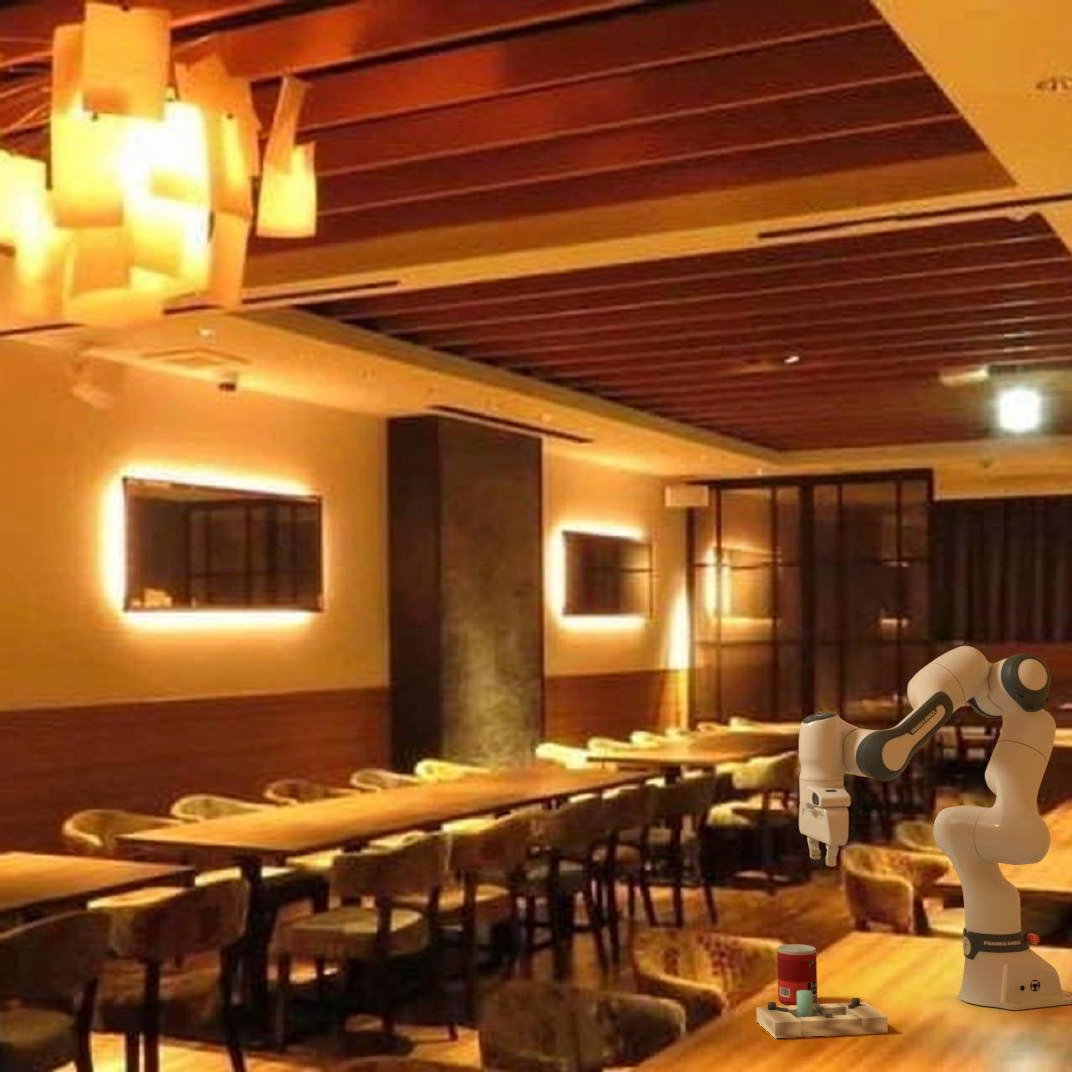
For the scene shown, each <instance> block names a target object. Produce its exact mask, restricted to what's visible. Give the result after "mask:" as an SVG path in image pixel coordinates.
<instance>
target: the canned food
mask: <svg viewBox="0 0 1072 1072" xmlns="http://www.w3.org/2000/svg"><path fill="white" fill-rule="evenodd" d="M776 949H777V951H776V954H777V955H776V958H777V959H776V960H777V962H776V963H777V964H776V965H777V966H776V967H777V968H776V969H777V970H776V971H777V998H778V1001H780V1002H781V1003H780V1002H779V1003H780V1004H782V1003H783V1004H782V1005H785V1004H786V1005H785V1006H789V1005H797V991H799V990H809V991H812V994H816V995H817V996H818V977H817V976H818V972H817V971H818V970H817V968H818V967H817V965H818V964H817V962H818V961H817V948H816V947H815V946H812V945H809V944H808V945H807V944H801V943H800V944H799V943H796V944H795V943H794V944H793V943H791V944H782V945H779V946H777V947H776Z"/></svg>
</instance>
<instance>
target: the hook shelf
mask: <svg viewBox="0 0 1072 1072" xmlns="http://www.w3.org/2000/svg"><path fill="white" fill-rule="evenodd" d="M812 996H813V1017H797V1005H793V1006H789V1005H779V1006H778V1005H777V1002H775V1001H769V1002H767V1006H758V1007H756V1023H757V1022H758V1023H759V1024H760V1025H759V1024H758V1025H759V1027H761V1026H762V1027H763V1028H764V1029H765V1030H766V1032H767V1031H768V1032H769V1033H770V1034H771V1035H770V1034H769V1033H768V1032H767V1033H768V1034H769V1035H770V1036H771V1037H772V1036H773V1037H774V1038H773V1037H772V1038H773V1039H774V1040H778V1039H777V1038H787V1039H797V1038H796V1037H806V1038H813V1037H812V1036H825V1037H838V1036H839V1037H842V1036H859V1035H878V1034H879V1035H880V1034H888V1032H889V1031H888V1028H889V1027H888V1025H889V1024H888V1016H887V1015H885V1014H884V1013H882V1012H880V1011H879V1010H877V1009H876V1008H875V1007H873V1006H872V1005H870V1004H868V1003H867V1002H865V1001H861V998H860V997H852V998H851V1002H838V1003H837V1002H836V1003H818V994H817V995H816V994H812ZM762 1027H761V1028H762ZM763 1028H762V1029H763ZM764 1029H763V1030H764ZM765 1030H764V1031H765ZM810 1036H811V1037H810Z"/></svg>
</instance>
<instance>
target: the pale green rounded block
mask: <svg viewBox="0 0 1072 1072" xmlns="http://www.w3.org/2000/svg"><path fill="white" fill-rule="evenodd" d="M797 1017H813V996H812V991H809V990H799V991H797Z"/></svg>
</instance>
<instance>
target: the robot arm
mask: <svg viewBox="0 0 1072 1072" xmlns="http://www.w3.org/2000/svg"><path fill="white" fill-rule="evenodd" d="M906 690H907V691H906V693H907V694H906V695H907V699H908V701H909V704H910V707H911V708H912V709H913V710H912V711H911V712H910V713H908V715H906V717H905V718H903V719H902V720H901V721H899V723H898V724H897V725H896V726H894V727H892V728H887V729H878V730H877V729H869V728H867V729H866V728H859V726H855V725H853V724H851V723H849V722H847V721H845V720H843V719H842V718H841V717H840V716H839V715H838V713H837V712H820V713H815V714H810V715H808V716H806V717H804V718H803V719H802V721H801V724H800V728H799V734H798V735H799V736H798V759H799V762H800V774H799V776H798V777H799V787H798V788H799V806H798V807H799V809H798V828H799V832H800V834H802V835H804V836H806V837H807V838H806V839H807V844H808V849H809V857H810V859H812V860H820V859H821V858H822V857H821V855H822V854H821V850H820V846H819V845H820V844H819V842H821V843H823V844H825V849H826V855H825V857H824V860H825V861H824V862H825V865H826V866H828V867H836V866H837V858H838V857H837V856H838V852H839V846H846V845H847V843H848V839H849V827H850V826H849V825H850V824H849V823H850V822H849V821H850V820H849V819H850V818H849V809H848V807H850V806H851V804H852V803H851V801H852V800H851V796H850V794H849V793H848V792H847V790H846V787H845V786H844V774H846V775H847V774H848V775H854V776H858V777H863V778H865V777H866V778H870V779H872V780H876V781H880V782H890V781H894V780H895V779H897V778H898V777H899V776H901V775H902V774H903V772H904V771H905V769H907V766H908V764H909V763H910V761H911V759H912V758H913V756H914V755H915V754H916V753H917V752H918V751H919V749H920V748H922V747H923V746H924V745H925V744H926V743H927V742H928V740H930V739H931V738H932V737H933V736H934V735H935V734H937V732H939V730H940V729H941V728H942V727H943V726H944V725H946V723H947V722H948V721H949V719H951V718H952V715H953V713H954V712H956V711H957V710H958V709H959V708H960V707H962V706H963V705H964V704H966V703H967V704H968V705H969V706H970V707H971V709H972V710H973V711H975V713H976V714H978V715H980V716H981V717H984V718H989V719H994V718H995V719H996V718H997V719H998V718H1002V728H1001V733H1000V735H999V737H998V739H997V742H996V744H995V747H994V749H993V750H992V751H993V752H992V754H991V755H990V759H989V762H988V764H987V766H986V769H985V772H984V780H985V783H986V786H987V787H988V789H989V790H990V791H991V792H992V793H993V794H994V795H995V796H996V798H995V802H994V804H993V806H991V807H986V806H985V807H984V806H978V805H977V806H976V805H967V804H966V805H965V804H964V805H955V806H949V807H945V808H943V809H941V810H940V811H939V813H938V814H937V816H936V817H935V819H934V823H933V828H932V833H933V839H934V841H935V844H936V845H937V847H938V848H939V849H940V850H941V851H942V852H943V853H944V854H945V855H946V857H947V858H948V859H949V861H950V862H951V864H952V866H953V868H954V869H955V872H956V873H957V876H958V879H959V881H960V885H961V889H962V896H963V905H964V906H963V908H964V923H965V924H964V927H963V929H962V933H963V934H962V950H963V956H964V964H963V965H964V967H963V974H962V982H961V987H960V990H959V994H958V998H959V1000H961V1001H963V1002H965V1003H968V1004H969V1003H970V1004H973V1005H978V1006H984V1007H992V1008H998V1009H999V1008H1000V1009H1004V1010H1010V1011H1019V1010H1027V1009H1036V1008H1045V1007H1055V1006H1064V1005H1065V1006H1066V1005H1072V994H1071V993H1069V992H1067V991H1065V990H1063V988H1062V985H1061V979H1060V975H1059V973H1058V970H1057V969H1056V968H1055V966H1053V965H1051V964H1050V963H1049V962H1048V961H1047V960H1046V959H1044V958H1043V957H1041V956H1040V954H1039V953H1038V954H1037V953H1036V951H1034V950H1032V949H1031V947H1030V944H1032V945H1034V946H1035V945H1036V946H1037V944H1039V942H1040V937H1039V936H1038V934H1034V933H1033V932H1030V933H1028V932H1026V931H1024V930H1022V924H1021V922H1022V921H1021V920H1022V919H1021V918H1022V917H1021V896H1020V892H1019V891H1018V889H1017V888H1016V886H1015V885H1014V884H1012V883H1011V882H1010V881H1009V880H1008V879H1007V878H1006V877H1005V875H1004V874H1003V872H1002V870H1001V868H1000V866H999V864H1003V865H1004V864H1005V865H1012V866H1021V865H1023V866H1024V865H1025V866H1026V865H1032V864H1038V863H1040V862H1042V861H1043V859H1044V858H1045V857H1046V856H1047V854H1048V853H1049V850H1050V846H1051V833H1050V830H1049V828H1048V825H1047V823H1046V822H1045V820H1043V818H1042V817H1041V815H1040V813H1039V811H1038V803H1037V802H1038V794H1039V789H1040V787H1041V784H1042V780H1043V778H1044V774H1045V772H1046V769H1047V766H1048V763H1049V761H1050V758H1051V755H1052V751H1053V748H1054V742H1055V739H1056V732H1057V723H1056V720H1055V719H1054V717H1053V715H1051V713H1049V711H1047V710H1045V709H1044V708H1046V706H1047V705H1049V702H1050V699H1051V696H1050V690H1051V673H1050V670H1049V667H1048V665H1047V663H1045V662H1044V661H1043V660H1042V659H1041V658H1040V657H1039V656H1037V655H1035V654H1033V653H1017V654H1013V655H1010V656H1009V657H1006V658H1003V659H1001V660H999V661H997V662H994V663H993V662H990V661H988V660H987V658H986V656H985V654H983V653H982V652H981V651H980V650H979V649H977V648H975V647H973V646H970V645H960V646H958V647H956V648H954V649H951V650H949V651H947V652H945V653H943V654H941V655H940V656H938V657H937V658H935V659H933V660H932V661H930V662H929V663H928V664H927V665H925V666H924V667H922V668H921V669H920V670H919V671H918V672H916V673H915V675H913V677H912V678H911V679H910V680H909V681H908V683H907V689H906Z"/></svg>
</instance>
